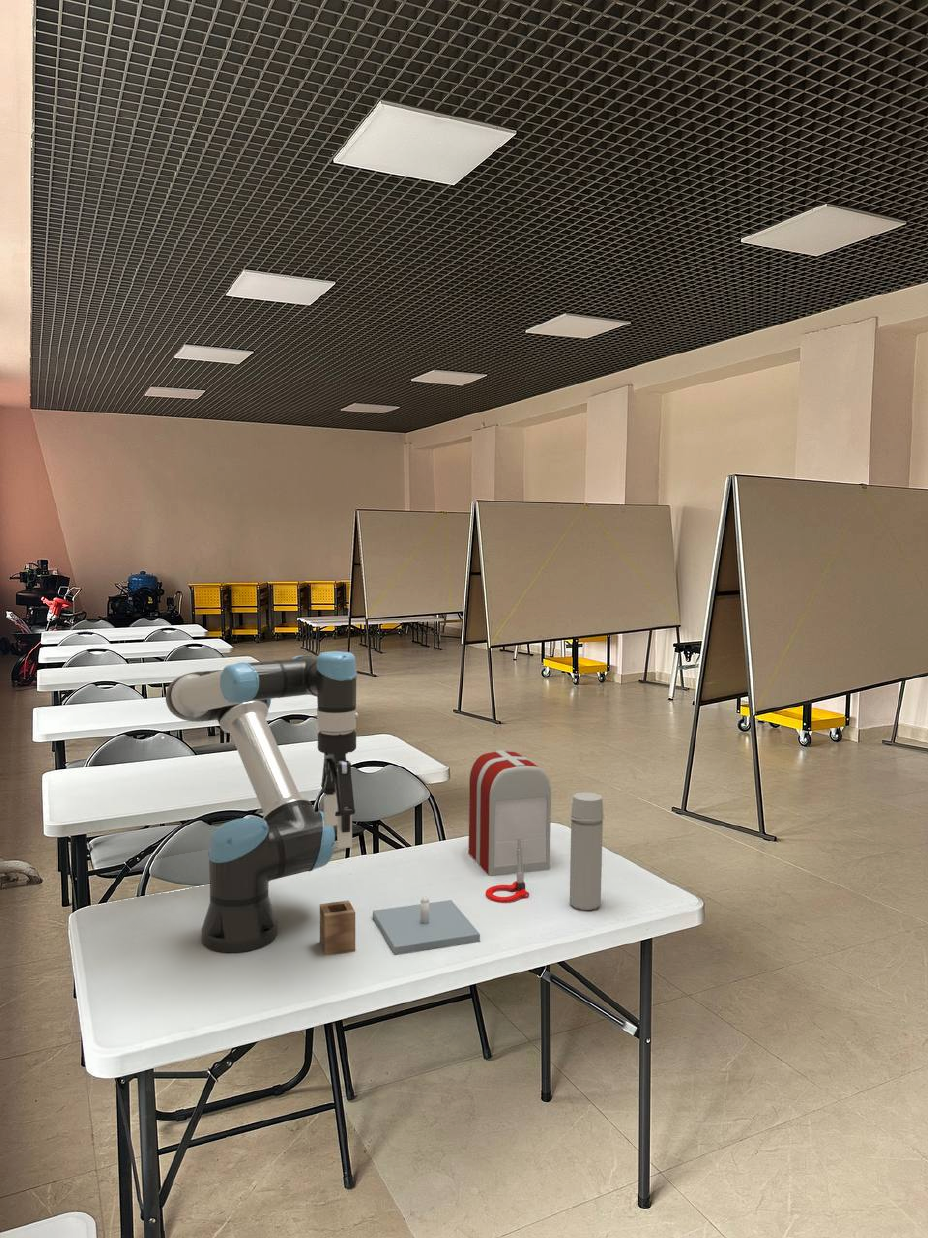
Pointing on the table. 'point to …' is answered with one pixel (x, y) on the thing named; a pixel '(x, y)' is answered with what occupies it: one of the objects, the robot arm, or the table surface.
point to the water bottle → (586, 851)
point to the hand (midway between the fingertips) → (337, 836)
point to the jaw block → (337, 927)
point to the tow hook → (517, 885)
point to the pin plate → (425, 926)
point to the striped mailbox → (509, 813)
